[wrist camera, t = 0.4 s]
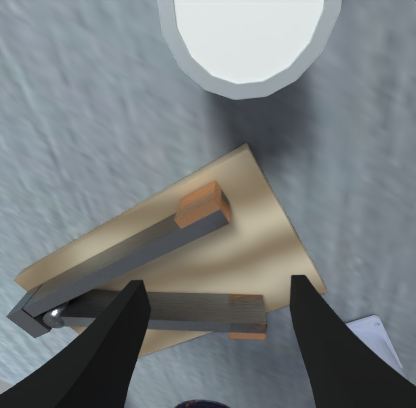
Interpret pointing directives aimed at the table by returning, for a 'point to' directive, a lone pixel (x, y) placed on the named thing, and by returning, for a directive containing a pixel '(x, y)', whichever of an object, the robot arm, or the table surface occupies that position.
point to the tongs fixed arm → (126, 256)
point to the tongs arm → (174, 312)
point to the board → (201, 246)
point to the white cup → (246, 41)
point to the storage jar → (201, 404)
